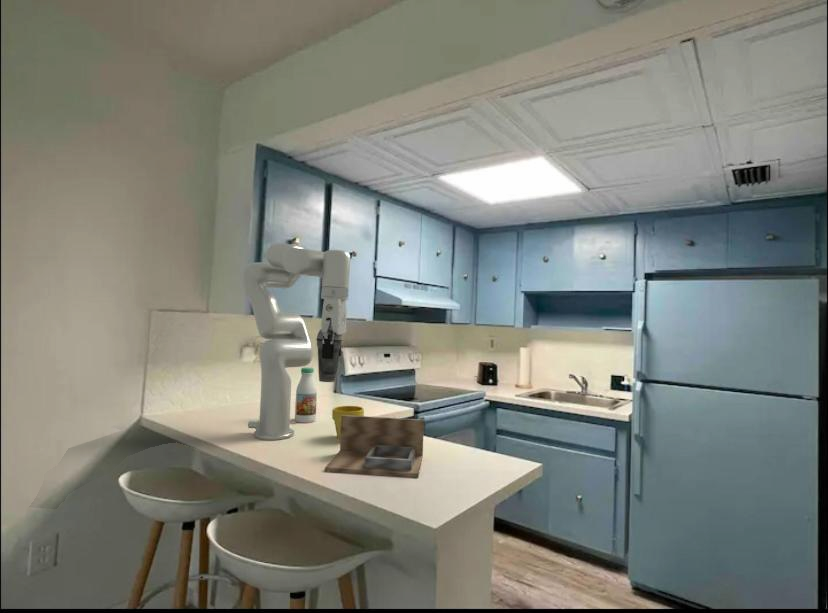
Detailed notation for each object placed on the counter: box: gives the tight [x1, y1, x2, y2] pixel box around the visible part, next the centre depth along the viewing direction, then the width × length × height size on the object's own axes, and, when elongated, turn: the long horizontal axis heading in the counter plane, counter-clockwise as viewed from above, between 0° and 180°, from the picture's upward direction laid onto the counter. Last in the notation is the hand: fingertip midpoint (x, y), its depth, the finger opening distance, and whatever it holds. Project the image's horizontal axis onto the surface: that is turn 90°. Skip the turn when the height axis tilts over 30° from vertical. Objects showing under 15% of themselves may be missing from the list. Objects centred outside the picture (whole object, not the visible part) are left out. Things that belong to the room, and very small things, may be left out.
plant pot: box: [331, 405, 365, 441], centre depth 146 cm, size 10×10×10 cm
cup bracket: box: [324, 415, 425, 478], centre depth 121 cm, size 24×16×11 cm, turn 85°
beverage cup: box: [316, 329, 343, 383], centre depth 125 cm, size 7×7×20 cm
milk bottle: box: [294, 367, 318, 424], centre depth 168 cm, size 8×8×20 cm
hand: (331, 356), depth 125 cm, fingers closed on beverage cup, 7 cm apart
